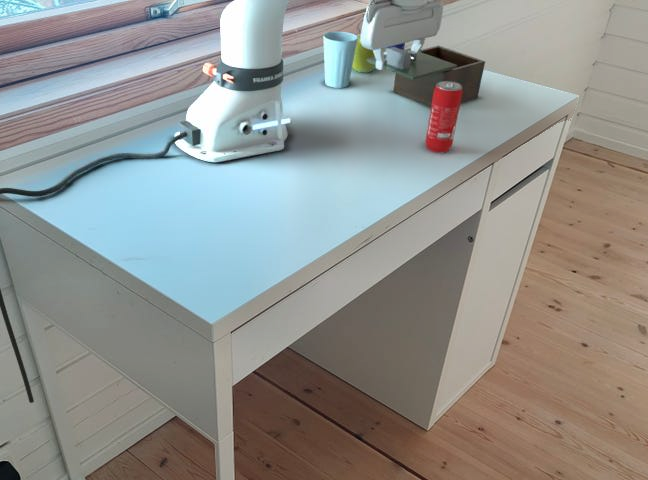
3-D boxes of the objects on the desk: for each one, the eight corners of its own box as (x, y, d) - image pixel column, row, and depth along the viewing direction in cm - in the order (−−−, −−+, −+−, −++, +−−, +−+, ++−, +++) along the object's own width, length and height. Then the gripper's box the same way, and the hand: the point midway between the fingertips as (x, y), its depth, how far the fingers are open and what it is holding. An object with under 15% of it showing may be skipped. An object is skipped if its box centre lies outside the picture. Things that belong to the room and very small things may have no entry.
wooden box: (438, 110, 148) (444, 72, 143) (393, 92, 156) (397, 55, 151) (477, 97, 155) (485, 61, 150) (432, 80, 163) (438, 45, 158)
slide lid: (413, 80, 138) (416, 61, 136) (366, 61, 146) (368, 44, 143) (456, 67, 145) (460, 50, 142) (409, 51, 153) (412, 33, 150)
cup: (360, 86, 158) (364, 38, 151) (334, 91, 155) (337, 43, 148) (340, 76, 163) (343, 29, 156) (314, 81, 160) (317, 34, 153)
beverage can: (423, 151, 132) (434, 88, 124) (425, 141, 136) (436, 79, 128) (450, 155, 131) (462, 91, 123) (451, 144, 135) (464, 82, 127)
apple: (389, 65, 167) (385, 25, 159) (366, 81, 165) (361, 42, 157) (366, 57, 171) (361, 18, 164) (343, 72, 169) (337, 33, 161)
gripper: (380, 1, 126) (371, 78, 135) (452, -12, 137) (439, 60, 146) (357, -6, 130) (350, 69, 139) (428, -18, 140) (418, 52, 149)
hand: (396, 64), depth 142 cm, fingers open, 8 cm apart
